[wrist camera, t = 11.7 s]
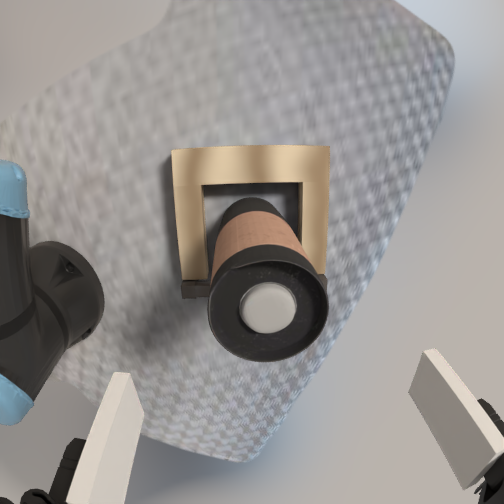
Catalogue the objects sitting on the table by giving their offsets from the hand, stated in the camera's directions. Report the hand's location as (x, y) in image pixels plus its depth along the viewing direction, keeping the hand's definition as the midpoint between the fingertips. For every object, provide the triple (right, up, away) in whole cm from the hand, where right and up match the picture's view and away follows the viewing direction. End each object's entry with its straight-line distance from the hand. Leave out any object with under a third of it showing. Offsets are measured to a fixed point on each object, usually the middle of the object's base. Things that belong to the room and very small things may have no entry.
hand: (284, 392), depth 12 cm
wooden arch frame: (-1, +10, +25) cm, 27 cm away
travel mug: (-1, +9, +25) cm, 27 cm away
